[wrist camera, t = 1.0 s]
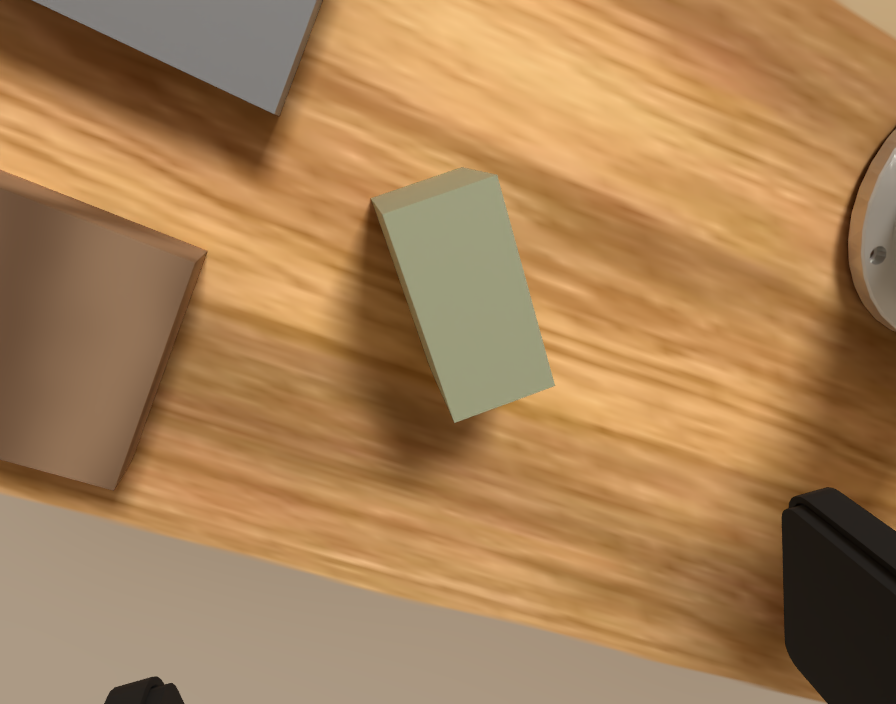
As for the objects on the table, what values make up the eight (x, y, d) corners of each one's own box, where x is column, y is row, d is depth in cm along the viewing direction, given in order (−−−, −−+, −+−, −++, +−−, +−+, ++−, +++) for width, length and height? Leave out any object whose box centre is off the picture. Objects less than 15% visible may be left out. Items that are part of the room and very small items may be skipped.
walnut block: (209, 249, 26) (195, 262, 24) (134, 455, 29) (113, 490, 26) (-64, 141, 24) (-118, 142, 21) (-124, 380, 26) (-179, 410, 23)
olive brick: (461, 167, 27) (497, 174, 21) (511, 338, 30) (554, 386, 24) (370, 198, 27) (382, 214, 21) (430, 368, 29) (454, 422, 24)
